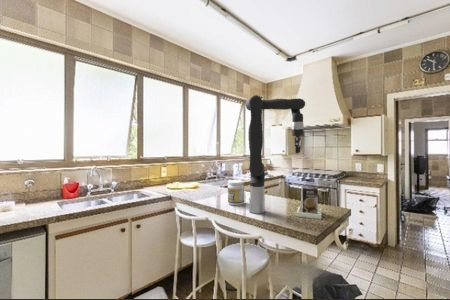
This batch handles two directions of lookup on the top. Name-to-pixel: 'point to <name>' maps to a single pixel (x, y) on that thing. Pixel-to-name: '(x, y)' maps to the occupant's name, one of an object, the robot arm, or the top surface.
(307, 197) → the coffee box
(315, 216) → the holder tray
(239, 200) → the supplement tub
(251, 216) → the top surface
